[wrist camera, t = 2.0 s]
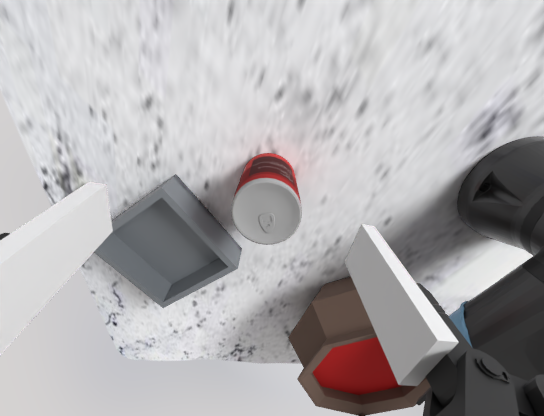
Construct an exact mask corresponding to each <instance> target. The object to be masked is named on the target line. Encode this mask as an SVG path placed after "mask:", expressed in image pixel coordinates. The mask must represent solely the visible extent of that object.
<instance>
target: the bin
mask: <svg viewBox="0 0 544 416" xmlns="http://www.w3.org/2000/svg"><path fill="white" fill-rule="evenodd" d="M112 229H113V231H112V233H111V234H110V235H109V236H108V237H107V238H106V239H105V240H104V241H103V243H102V244H101V245H100V246H99V247H98V248H97V249H96V250H95V251H94V253H96V254H97V255H98V256H99V257H101V258H102V259H103V260H104V261H106V262H107V263H108V264H109V265H111V266H112V267H113V268H114V269H115V270H117V271H118V272H119V273H120V274H122V275H123V276H124V277H125V278H127V279H128V280H129V281H130V282H132V283H133V284H134V285H135V286H136V287H138V288H139V289H140V290H141V291H143V292H144V293H145V294H146V295H148V296H149V297H150V298H151V299H153V300H154V301H155V302H156V303H157V304H159V305H160V306H161V307H162V308H164V307H166V306H168V305H170V304H172V303H174V302H175V301H177V300H179V299H181V298H183V297H185V296H187V295H189V294H191V293H192V292H194V291H196V290H198V289H200V288H202V287H204V286H206V285H208V284H210V283H211V282H213V281H215V280H217V279H219V278H221V277H223V276H225V275H227V274H228V273H230V272H232V271H234V270H236V269H238V265H239V260H240V255H241V250H242V248H241V247H240V246H239V245H238V244H237V243H236V242H235V240H234V239H233V238H232V237H231V236H230V235H229V234H228V233H227V231H226V230H225V229H224V228H223V227H222V226H221V225H220V224H219V222H218V221H217V220H216V219H215V218H214V217H213V216H212V214H211V213H210V212H209V211H208V210H207V209H206V208H205V207H204V205H203V204H202V203H201V202H200V201H199V200H198V199H197V198H196V196H195V195H194V194H193V193H192V192H191V191H190V190H189V189H188V187H187V186H186V185H185V184H184V183H183V182H182V181H181V180H180V178H179V177H178V176H177V175H174V176H173V177H172V178H170V179H169V180H167V181H166V182H165V183H163V184H162V185H160V186H159V187H158V188H156V189H155V190H154V191H152V192H151V193H149V194H148V195H147V196H145V197H144V198H142V199H141V200H140V201H138V202H137V203H135V204H134V205H133V206H131V207H130V208H128V209H127V210H126V211H124V212H123V213H122V214H120V215H119V216H117V217H116V218H115V219H113V220H112Z"/></svg>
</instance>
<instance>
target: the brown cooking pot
mask: <svg viewBox="0 0 544 416" xmlns="http://www.w3.org/2000/svg"><path fill="white" fill-rule="evenodd" d="M288 338H289V340H290V342H291V344H292V346H293V348H294V349H295V351H296V353H297V355H298V357H299V359H300V361H301V363H302V365H303V367H304V369H303V370H302V372H301V374H300V376H299V377H298V381H299V382H300V384H301V385H302V386H303V388H304V389H305V391H306V392H307V393H308V395H309V397H310V398H311V399H312V401H313V402H314V404H315V405H316V406H318V407H323V408H328V409H332V410H336V411H341V412H345V413H350V414H354V415H359V416H365V415H370V414H376V413H380V412H386V411H391V410H397V409H403V408H408V407H413V406H415V405H416V403H417V401H418V399H419V398H420V397H421V396H422V395H423V394H424V393H425V392H426V391H427V390H428V389H429V388H430V387H431V386H430V384H429V382H428V381H427V379H426V377H425V378H424V380H423V381H422V382H421V383H420V384H419V385H418V386H407V385H398V383H397V380H396V378H395V376H394V374H393V371H392V369H391V367H390V364H389V362H388V360H387V358H386V355H385V353H384V351H383V348H382V346H381V344H380V342H379V339H378V337H377V335H376V332H375V330H374V328H373V326H372V323H371V321H370V319H369V316H368V314H367V312H366V310H365V307H364V305H363V303H362V300H361V298H360V296H359V294H358V291H357V289H356V287H355V284H354V282H353V280H352V278H351V277H347V278H344V279H341V280H337V281H334V282H331V283H327V284H324V285H323V287H322V288H321V290H320V291H319V293H318V294H317V295H316V297H315V298H314V300H313V301H312V303H311V304H310V306H309V307H308V309H307V310H306V312H305V313H304V315H303V316H302V318H301V319H300V321H299V322H298V324H297V325H296V327H295V328H294V330H293V331H292V333H291V334H290V336H289V337H288Z"/></svg>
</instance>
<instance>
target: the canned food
mask: <svg viewBox="0 0 544 416" xmlns="http://www.w3.org/2000/svg"><path fill="white" fill-rule="evenodd" d="M231 213H232V219H233V222H234V225H235V226H236V228H237V230H238V231H239V232H240V233H241V234H242V235H243V236H244V237H246V238H247V239H249V240H251V241H253V242H255V243H259V244H265V245H268V244H276V243H280V242H282V241H285V240H286V239H288V238H289V237H291V236H292V235H293V234H294V233H295V231H296V230H297V228H298V226H299V224H300V221H301V214H302V208H301V202H300V197H299V192H298V188H297V183H296V178H295V174H294V171H293V168H292V166H291V165H290V164H289V162H288V161H287V160H285V159H284V158H283V157H281V156H279V155H276V154H271V153H264V154H260V155H258V156H256V157H254V158H252V159H251V160H250V161H249V162H248V163H247V165H246V166H245V168H244V171H243V173H242V176H241V179H240V182H239V184H238V187H237V190H236V193H235V196H234V199H233V203H232V212H231Z"/></svg>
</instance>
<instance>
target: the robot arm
mask: <svg viewBox="0 0 544 416" xmlns="http://www.w3.org/2000/svg"><path fill="white" fill-rule="evenodd" d="M458 211H459V214H460V216H461V218H462V220H463V221H464V222H465V223H466V224H467V225H468V226H469V227H471V228H472V229H473V230H475V231H476V232H478V233H479V234H481V235H483V236H485V237H488V238H491V239H495V240H498V241H500V242H503V243H506V244H509V245H512V246H515V247H519V248H522V249H525V250H526V251H528V252H529V253H531V254H532V255H533V257H532V258H530V259H529V260H527V261H526V262H525V263H523V264H522V265H520V266H518V267H517V268H516V269H514V270H513V271H511V272H510V273H509V274H507V275H506V276H504V277H503V278H502V279H500V280H499V281H498V282H496V283H495V284H493V285H492V286H491V287H489V288H488V289H486V290H485V291H483V292H482V293H480V294H479V295H477V296H476V297H474V298H473V299H472V300H470V301H465V302H463V303H462V304H461V306H460V308H459V309H457V310H456V311H455V312H454V313H452V314H451V315H450V316H449V317H448V315H447V314H445V311H444V310H443V309H442V307H441V306H439V305H438V304H439V303H438V302H437V301H436V299H435V298H434V297H433V296H432V294H431V293H430V292H429V291H428V290H426V289H425V288H424V287H423V286H422V285H421V284H418V283H415V281H414V280H413V278H412V277H411V276H410V274H409V273H408V272H407V270H406V269H405V267H404V266H403V265H402V263H401V262H400V261H399V259H398V258H397V256H396V255H395V254H394V252H393V251H392V250H391V248H390V247H389V245H388V244H387V243H386V241H385V240H384V239H383V237H382V236H381V234H380V233H379V232H378V230H377V229H376V228H375V226H370V225H364V224H362V225H361V227H360V229H359V231H358V233H357V235H356V238H355V240H354V242H353V244H352V246H351V249H350V251H349V253H348V255H347V257H346V260H345V264H346V266H347V269H348V271H349V273H350V275H351V278H352V280H353V282H354V284H355V287H356V289H357V291H358V294H359V296H360V298H361V300H362V303H363V305H364V307H365V310H366V312H367V314H368V316H369V319H370V321H371V323H372V326H373V328H374V330H375V332H376V335H377V337H378V339H379V342H380V344H381V346H382V348H383V351H384V353H385V355H386V358H387V360H388V362H389V364H390V367H391V369H392V371H393V374H394V376H395V378H396V380H397V383H398V385H407V386H418V385H419V384H420V383H421V382H422V381H423V380H424V378H425V377H426V379H427V381H428V382H429V384H430V386H431V387H430V388H429V389H428V390H427V391H426V392H425V393H424V394H423V395H422V396H421V397H420V398H419V399H418V401H417V403H416V404H418V405H421V403H423V402H424V401H425V406H424V412H423V416H544V137H528V138H523V139H519V140H516V141H513V142H510V143H508V144H506V145H504V146H502V147H500V148H498V149H496V150H495V151H493V152H492V153H490V154H489V155H488V156H486V157H485V158H484V159H483V160H481V161H480V162H479V163H478V164H477V165H476V166H475V167H474V169H473V170H472V171H471V172H470V173H469V175H468V176H467V178H466V179H465V181H464V183H463V185H462V187H461V190H460V193H459V197H458ZM112 231H113V229H112V221H111V214H110V206H109V199H108V192H107V184H101V183H95V182H88V183H86V184H85V185H83V186H82V187H80V188H79V189H77V190H76V191H74V192H73V193H71V194H70V195H68V196H67V197H65V198H64V199H62V200H61V201H59V202H58V203H56V204H55V205H53V206H52V207H50V208H49V209H47V210H46V211H44V212H43V213H41V214H40V215H38V216H37V217H35V218H34V219H32V220H30V221H29V222H27V223H26V224H24V225H23V226H22V227H20V228H18V229H17V230H15V231H14V232H12V233H11V234H10V233H3V234H1V235H0V355H1V354H2V353H3V352H4V351H5V350H6V348H7V347H8V346H9V345H10V344H11V343H12V342H13V341H14V340H15V339H16V337H17V336H18V335H19V334H20V333H21V332H22V331H23V330H24V329H25V327H26V326H27V325H28V324H29V323H30V322H31V321H32V320H33V319H34V318H35V316H36V315H37V314H38V313H39V312H40V311H41V310H42V309H43V308H44V306H45V305H46V304H47V303H48V302H49V301H50V300H51V299H52V298H53V297H54V295H55V294H56V293H57V292H58V291H59V290H60V289H61V288H62V287H63V286H64V284H65V283H66V282H67V281H68V280H69V279H70V278H71V277H72V276H73V275H74V273H75V272H76V271H77V270H78V269H79V268H80V267H81V266H82V265H83V263H84V262H85V261H86V260H87V259H88V258H89V257H90V256H91V255H92V254H93V252H94V251H95V250H96V249H97V248H98V247H99V246H100V245H101V244H102V243H103V241H104V240H105V239H106V238H107V237H108V236H109V235H110V234H111V233H112Z"/></svg>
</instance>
